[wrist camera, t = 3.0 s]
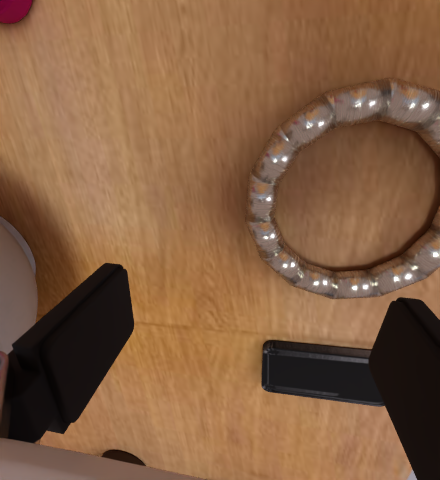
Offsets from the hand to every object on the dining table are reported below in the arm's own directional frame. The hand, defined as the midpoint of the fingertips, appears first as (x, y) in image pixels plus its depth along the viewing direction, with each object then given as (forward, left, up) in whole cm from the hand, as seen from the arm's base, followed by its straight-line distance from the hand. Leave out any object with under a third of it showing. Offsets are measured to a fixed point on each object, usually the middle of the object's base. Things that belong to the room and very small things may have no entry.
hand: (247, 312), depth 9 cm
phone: (-10, +21, -16) cm, 28 cm away
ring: (-8, 0, -15) cm, 17 cm away
